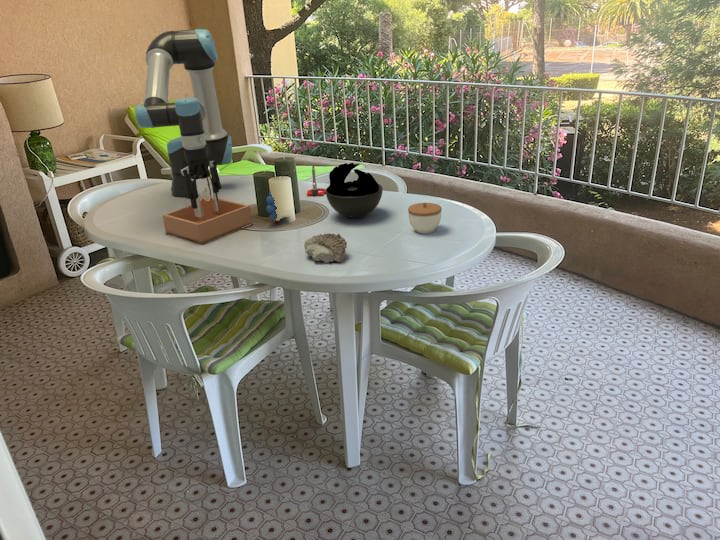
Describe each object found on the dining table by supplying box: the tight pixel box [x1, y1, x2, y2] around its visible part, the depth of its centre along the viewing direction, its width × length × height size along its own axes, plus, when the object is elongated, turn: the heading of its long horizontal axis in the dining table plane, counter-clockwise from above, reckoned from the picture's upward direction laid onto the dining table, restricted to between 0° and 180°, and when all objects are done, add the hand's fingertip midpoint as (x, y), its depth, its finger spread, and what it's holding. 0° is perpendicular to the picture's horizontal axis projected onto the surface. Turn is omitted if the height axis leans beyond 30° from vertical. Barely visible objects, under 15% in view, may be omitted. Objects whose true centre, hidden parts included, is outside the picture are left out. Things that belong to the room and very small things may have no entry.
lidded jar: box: [407, 201, 443, 234], centre depth 179 cm, size 11×11×9 cm
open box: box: [161, 198, 253, 246], centre depth 192 cm, size 22×20×7 cm
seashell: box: [304, 232, 348, 264], centre depth 164 cm, size 14×9×10 cm
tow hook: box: [306, 163, 327, 197], centre depth 224 cm, size 8×13×9 cm
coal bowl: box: [325, 162, 384, 219], centre depth 194 cm, size 20×20×19 cm
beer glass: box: [190, 174, 217, 222], centre depth 189 cm, size 7×7×15 cm
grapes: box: [265, 190, 277, 221], centre depth 194 cm, size 12×7×12 cm, turn 160°
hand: (207, 213), depth 191 cm, fingers closed on beer glass, 6 cm apart
